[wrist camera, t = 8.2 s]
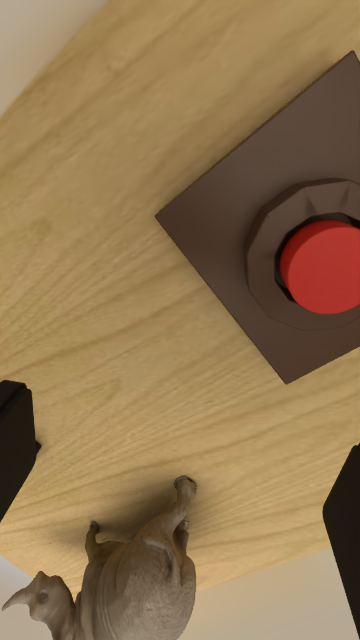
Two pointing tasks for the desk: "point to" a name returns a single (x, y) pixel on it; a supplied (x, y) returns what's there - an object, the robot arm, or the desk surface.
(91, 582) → the rhinoceros figurine
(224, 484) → the desk surface
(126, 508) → the desk surface
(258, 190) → the button housing
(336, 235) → the power button
